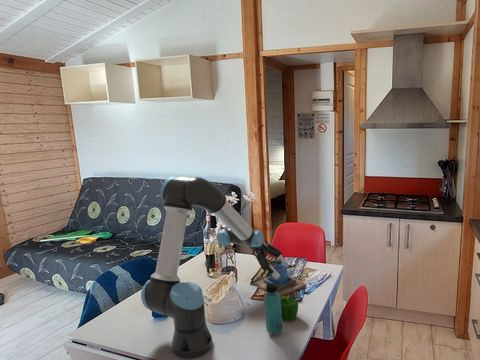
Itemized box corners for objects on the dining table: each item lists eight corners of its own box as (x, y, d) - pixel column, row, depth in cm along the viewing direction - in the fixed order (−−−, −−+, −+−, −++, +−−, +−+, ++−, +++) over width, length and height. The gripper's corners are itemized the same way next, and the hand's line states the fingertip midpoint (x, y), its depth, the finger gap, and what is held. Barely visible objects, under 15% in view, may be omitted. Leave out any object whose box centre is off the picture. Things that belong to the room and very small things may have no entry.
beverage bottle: (278, 340, 138) (275, 290, 134) (263, 335, 141) (259, 287, 138) (286, 330, 143) (283, 283, 140) (271, 326, 147) (267, 280, 143)
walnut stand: (305, 286, 178) (305, 280, 177) (276, 298, 169) (276, 291, 168) (282, 274, 193) (282, 268, 192) (254, 285, 184) (253, 278, 183)
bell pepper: (298, 312, 156) (297, 290, 154) (299, 323, 148) (298, 300, 146) (278, 312, 157) (276, 291, 155) (278, 323, 148) (277, 300, 147)
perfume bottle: (287, 281, 182) (286, 258, 180) (282, 286, 176) (281, 263, 174) (276, 279, 185) (275, 256, 183) (271, 284, 180) (269, 261, 178)
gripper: (258, 236, 195) (286, 266, 191) (237, 253, 173) (269, 287, 169) (266, 227, 192) (296, 257, 188) (246, 243, 170) (279, 278, 166)
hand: (283, 271), depth 178 cm, fingers open, 13 cm apart
